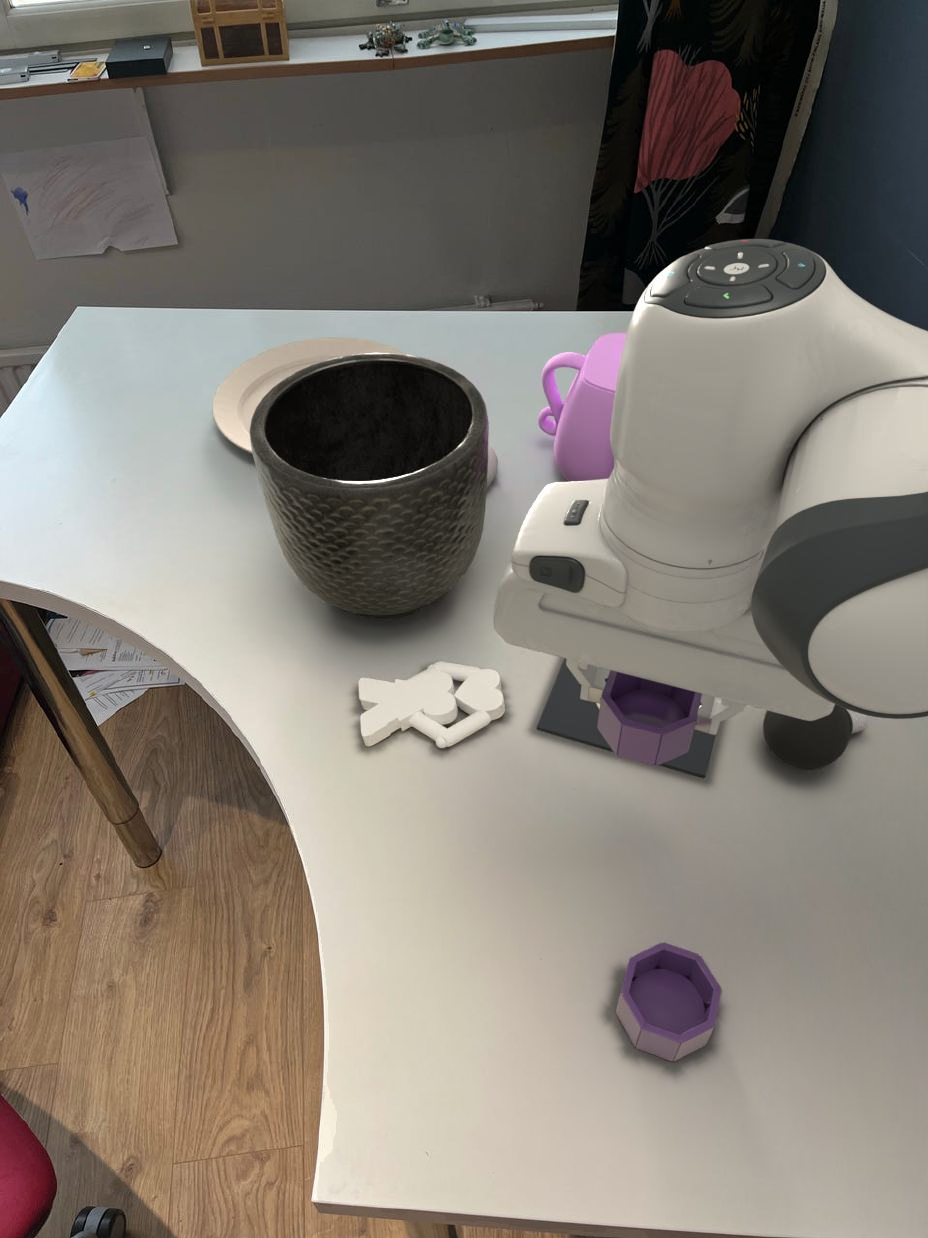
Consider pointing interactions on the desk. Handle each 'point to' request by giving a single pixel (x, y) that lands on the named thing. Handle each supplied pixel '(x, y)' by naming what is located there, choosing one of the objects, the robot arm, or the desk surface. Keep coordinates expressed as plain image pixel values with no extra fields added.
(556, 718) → the mat
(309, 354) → the plate
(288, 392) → the planter
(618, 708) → the dish
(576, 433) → the teapot
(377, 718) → the white abstract figurine
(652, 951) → the dish
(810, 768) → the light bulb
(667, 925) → the desk surface
